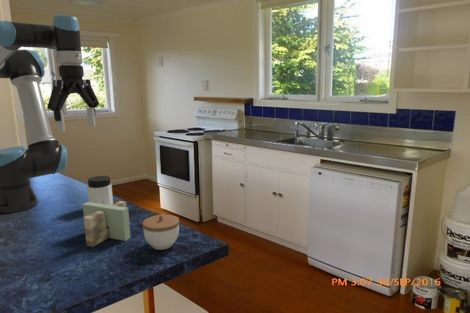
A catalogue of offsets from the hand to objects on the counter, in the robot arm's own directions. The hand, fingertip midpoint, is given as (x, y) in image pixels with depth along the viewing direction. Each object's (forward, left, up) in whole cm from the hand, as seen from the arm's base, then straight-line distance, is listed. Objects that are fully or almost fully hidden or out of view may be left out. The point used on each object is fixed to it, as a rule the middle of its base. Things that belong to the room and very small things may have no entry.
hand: (77, 128), depth 126 cm
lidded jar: (+39, +8, -33) cm, 52 cm away
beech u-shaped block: (+21, -1, -33) cm, 39 cm away
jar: (-6, +8, -33) cm, 34 cm away
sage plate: (+21, -1, -33) cm, 39 cm away
